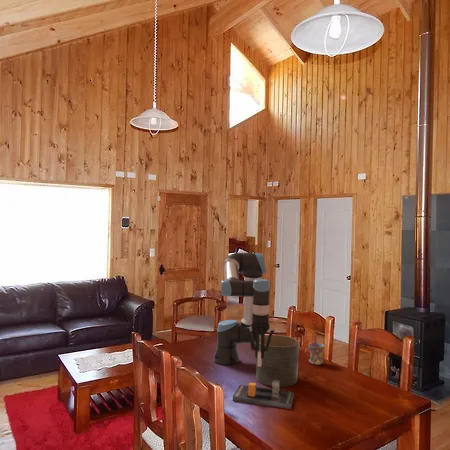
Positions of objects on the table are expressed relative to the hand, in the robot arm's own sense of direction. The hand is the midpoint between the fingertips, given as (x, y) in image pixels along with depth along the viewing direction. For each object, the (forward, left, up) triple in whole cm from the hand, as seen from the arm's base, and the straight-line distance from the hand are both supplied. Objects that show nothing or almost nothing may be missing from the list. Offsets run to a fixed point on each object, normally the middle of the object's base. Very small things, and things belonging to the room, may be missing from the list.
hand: (259, 365), depth 179 cm
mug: (+22, +61, -16) cm, 67 cm away
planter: (+4, +29, -16) cm, 34 cm away
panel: (+2, +3, -16) cm, 17 cm away
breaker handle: (-3, 0, -14) cm, 14 cm away
